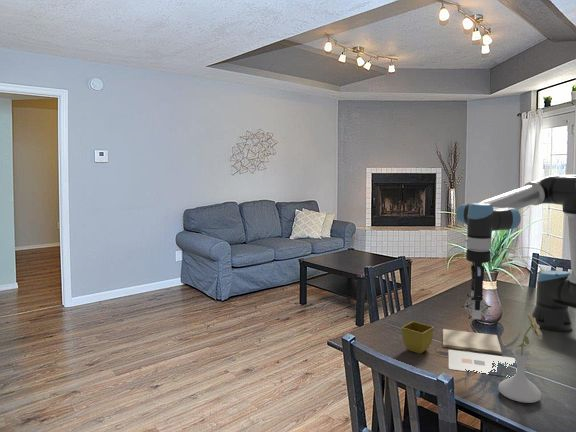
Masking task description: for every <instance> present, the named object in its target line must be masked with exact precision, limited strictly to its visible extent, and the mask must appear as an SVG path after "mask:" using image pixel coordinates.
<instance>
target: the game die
mask: <svg viewBox="0 0 576 432" xmlns="http://www.w3.org/2000/svg"><path fill="white" fill-rule="evenodd" d="M466 296H467V298H466V300H465V302H464V305H462V306H460V307H461V308H464V310H465V311H466V313H467V314H468V320H470V319H472V309H473V300H471V298H474V296H471V295H469V293H467V294H466ZM478 297H480V296H478ZM482 298H483V300H482V310H481V318H482V319H483V320H486V318H485V315H486V313H487V311H488V310H489V308H491V307H492V306H491V305H488V303H487V302H486V300H485V298H484V297H482Z"/></svg>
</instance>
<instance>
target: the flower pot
mask: <svg viewBox="0 0 576 432" xmlns="http://www.w3.org/2000/svg"><path fill="white" fill-rule="evenodd" d="M434 330H435V327H434V326H432V325H428V324H425V323H424V324H423V323H420V322H417V321H411V322H409V323H407V324H404V325H403V326H402V327H401V335H402V336H401V337H402V341H403V343H404V346H405V348H406V349H407V350H408V351H411V352H413V353H416V354H423V353H424V352H426V351H427V350H428V349H429V347H430V345H431V344H432V340H433V335H434Z"/></svg>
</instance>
